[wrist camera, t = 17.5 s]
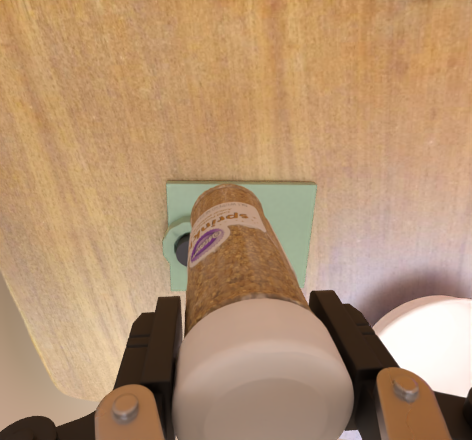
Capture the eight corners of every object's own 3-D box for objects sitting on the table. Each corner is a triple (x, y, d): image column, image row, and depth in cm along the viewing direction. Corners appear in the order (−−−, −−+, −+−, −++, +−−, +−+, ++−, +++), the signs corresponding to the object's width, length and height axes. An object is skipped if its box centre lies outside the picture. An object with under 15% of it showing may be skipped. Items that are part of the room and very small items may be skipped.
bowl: (326, 295, 42) (346, 328, 36) (474, 251, 42) (519, 278, 36) (347, 399, 49) (366, 440, 44) (472, 362, 49) (509, 399, 43)
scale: (167, 285, 39) (165, 300, 36) (162, 180, 34) (159, 188, 31) (301, 282, 41) (308, 296, 38) (313, 181, 36) (323, 189, 33)
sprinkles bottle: (216, 167, 19) (242, 316, 6) (277, 206, 20) (400, 394, 8) (175, 229, 20) (132, 455, 8) (236, 262, 21) (284, 503, 9)
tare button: (177, 259, 35) (176, 267, 33) (176, 233, 34) (175, 241, 32) (205, 258, 35) (205, 267, 34) (205, 233, 34) (205, 240, 32)
